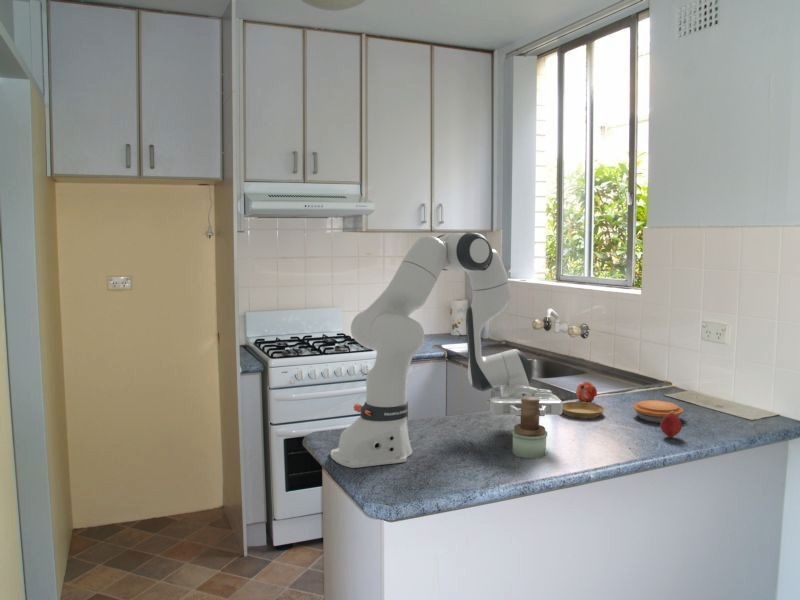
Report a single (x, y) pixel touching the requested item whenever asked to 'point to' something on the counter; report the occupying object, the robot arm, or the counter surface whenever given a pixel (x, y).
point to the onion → (671, 425)
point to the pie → (656, 410)
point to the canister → (529, 446)
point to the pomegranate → (586, 392)
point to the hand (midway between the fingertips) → (530, 413)
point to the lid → (529, 418)
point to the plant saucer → (582, 409)
